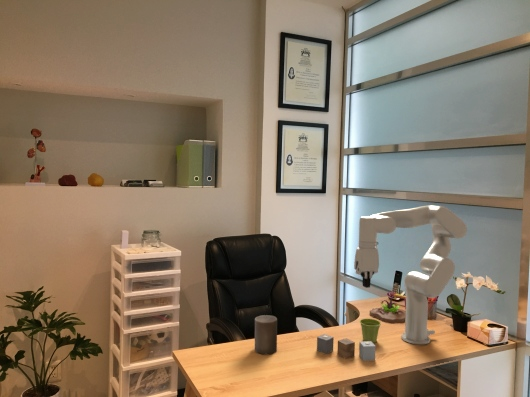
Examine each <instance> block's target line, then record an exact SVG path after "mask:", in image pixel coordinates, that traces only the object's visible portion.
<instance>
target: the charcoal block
mask: <svg viewBox="0 0 530 397" xmlns="http://www.w3.org/2000/svg"><path fill="white" fill-rule="evenodd" d="M316 351H317V352H320V353H322V354H325V355H328V354H329V353H332V352H334V336H332V335H328V334H325V333H323V334H321V335H319V336H317V338H316Z"/></svg>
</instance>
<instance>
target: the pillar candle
mask: <svg viewBox="0 0 530 397" xmlns="http://www.w3.org/2000/svg"><path fill="white" fill-rule="evenodd" d="M277 350H278V318H277V317H276V316H274V315H267V314H266V315H265V314H264V315H259V316H256V317H255V318H254V352H256V353H257V354H261V355H273V354H275V353H276V352H277Z"/></svg>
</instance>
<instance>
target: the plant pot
mask: <svg viewBox="0 0 530 397" xmlns="http://www.w3.org/2000/svg"><path fill="white" fill-rule="evenodd" d="M381 322H382V321H381V320H379V319H376V318H362V319H359V323H360V326H361V333H362V334H361V335H362V342H363V341H371V342H372V343H373V344H374V343H377V342H378V340H377V339H378V335H379V330H380V326H381V325H382V323H381Z"/></svg>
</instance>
